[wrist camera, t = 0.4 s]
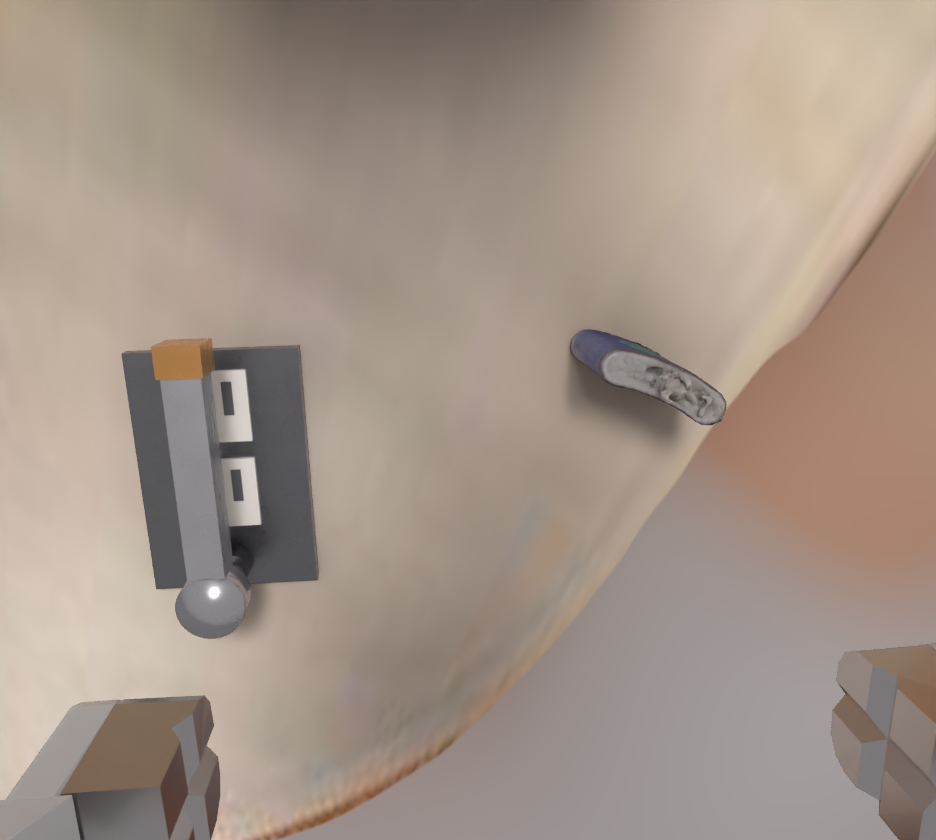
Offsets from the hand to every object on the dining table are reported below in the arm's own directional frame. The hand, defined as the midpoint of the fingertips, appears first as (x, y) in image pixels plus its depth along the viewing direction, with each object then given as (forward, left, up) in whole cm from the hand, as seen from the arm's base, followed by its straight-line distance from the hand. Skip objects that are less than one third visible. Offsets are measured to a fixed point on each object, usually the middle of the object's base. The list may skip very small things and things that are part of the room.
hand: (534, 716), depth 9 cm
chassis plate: (+11, -15, -45) cm, 48 cm away
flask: (+4, +15, -45) cm, 47 cm away
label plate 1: (+6, -15, -44) cm, 46 cm away
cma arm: (+10, -15, -39) cm, 43 cm away
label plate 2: (+12, -15, -44) cm, 48 cm away
